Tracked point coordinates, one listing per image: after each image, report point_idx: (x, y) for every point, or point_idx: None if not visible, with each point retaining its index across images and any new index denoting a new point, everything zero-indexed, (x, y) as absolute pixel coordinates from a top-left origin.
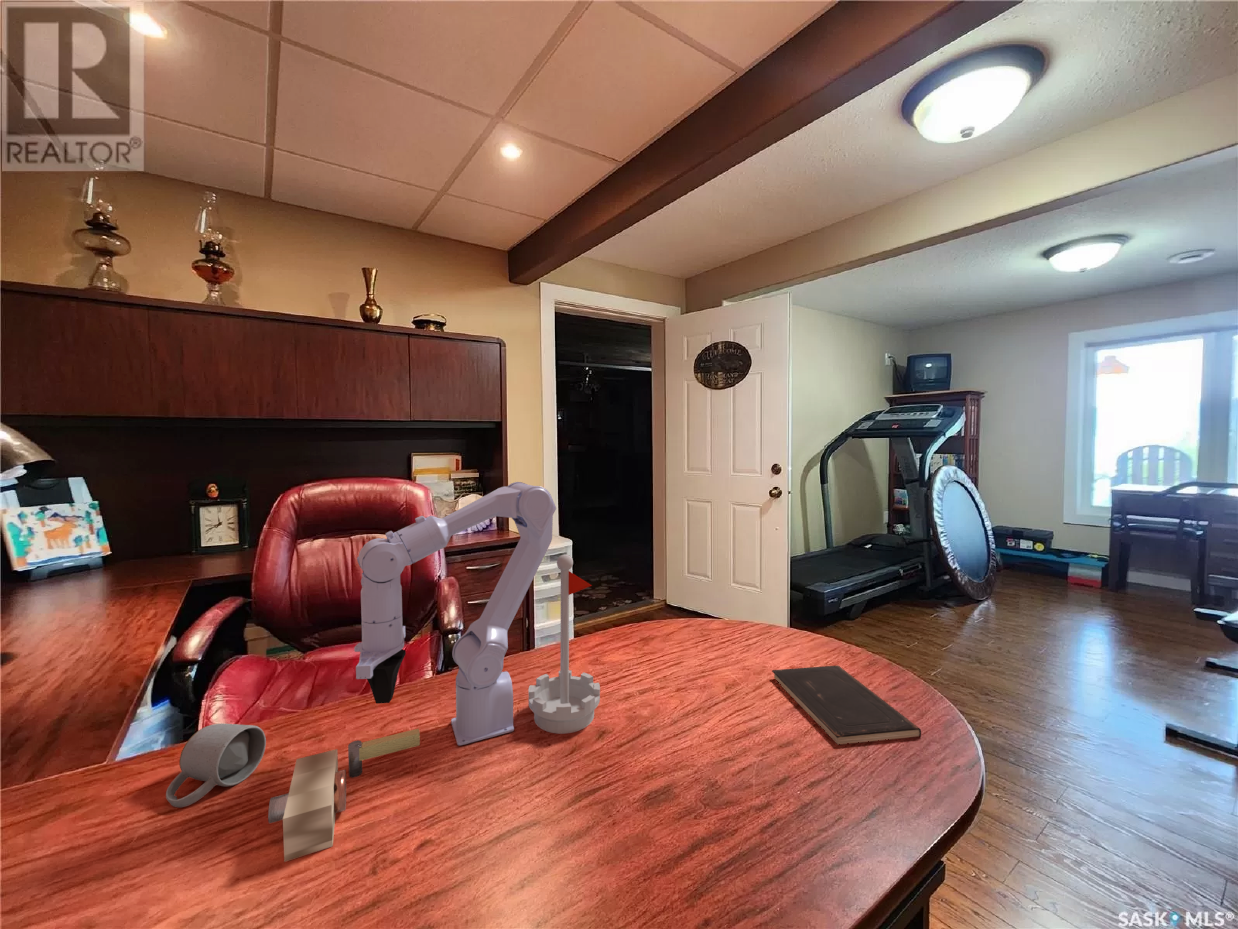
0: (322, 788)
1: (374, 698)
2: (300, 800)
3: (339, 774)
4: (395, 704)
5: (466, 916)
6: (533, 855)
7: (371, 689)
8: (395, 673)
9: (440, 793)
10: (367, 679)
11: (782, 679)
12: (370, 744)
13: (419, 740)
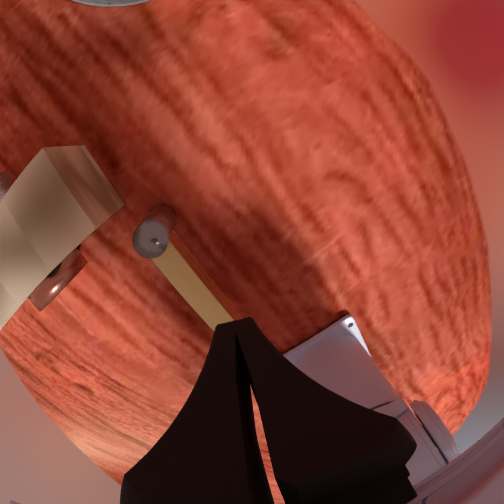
0: (6, 292)
1: (213, 337)
2: None
3: (38, 298)
4: (412, 160)
5: (58, 425)
6: (123, 452)
7: (203, 366)
8: (264, 469)
9: (158, 380)
10: (174, 421)
11: None
12: (168, 275)
13: None
